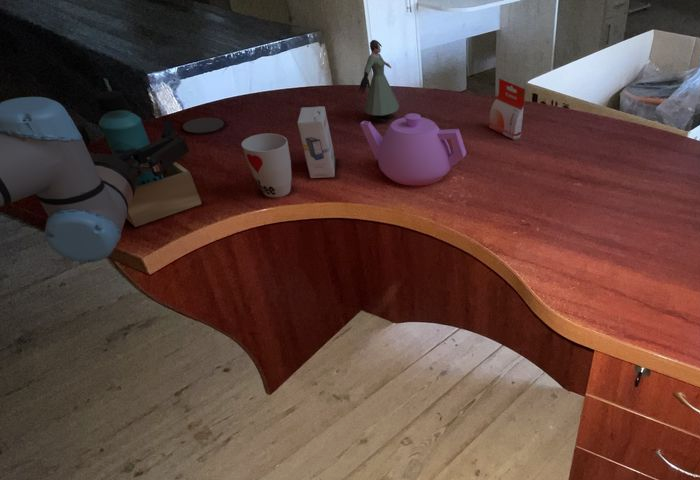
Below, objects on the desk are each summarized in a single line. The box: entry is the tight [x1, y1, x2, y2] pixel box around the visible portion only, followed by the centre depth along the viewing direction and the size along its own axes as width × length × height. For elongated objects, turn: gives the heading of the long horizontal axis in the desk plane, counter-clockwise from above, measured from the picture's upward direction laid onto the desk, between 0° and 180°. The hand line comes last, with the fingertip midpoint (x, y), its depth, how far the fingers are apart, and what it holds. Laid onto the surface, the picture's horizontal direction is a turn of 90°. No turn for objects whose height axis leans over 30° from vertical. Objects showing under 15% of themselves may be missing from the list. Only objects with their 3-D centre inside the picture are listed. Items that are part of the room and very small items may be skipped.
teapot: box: [359, 112, 467, 187], centre depth 112 cm, size 22×16×12 cm
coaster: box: [182, 116, 225, 135], centre depth 127 cm, size 9×9×1 cm
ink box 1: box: [297, 105, 336, 179], centre depth 111 cm, size 9×5×12 cm, turn 10°
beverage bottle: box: [95, 90, 165, 186], centre depth 95 cm, size 6×7×20 cm
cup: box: [241, 133, 293, 198], centre depth 104 cm, size 8×8×10 cm
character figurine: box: [358, 39, 400, 123], centre depth 129 cm, size 16×8×18 cm, turn 163°
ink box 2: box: [488, 78, 526, 140], centre depth 129 cm, size 3×9×12 cm, turn 42°
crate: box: [125, 161, 202, 228], centre depth 100 cm, size 12×12×6 cm
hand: (128, 130), depth 95 cm, fingers open, 13 cm apart
